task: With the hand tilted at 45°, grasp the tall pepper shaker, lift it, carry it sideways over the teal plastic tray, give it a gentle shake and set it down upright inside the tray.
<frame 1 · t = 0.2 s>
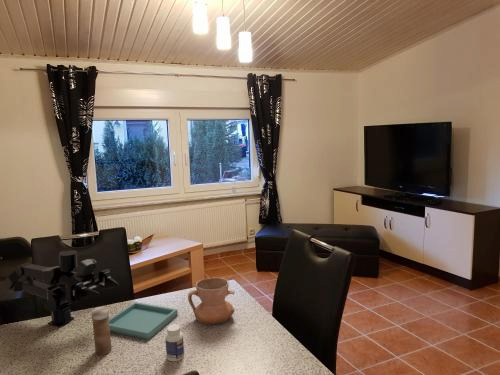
hand: (108, 289, 124), 16 cm above the table, tool horizontal, fingers open, 9 cm apart
shaker: (103, 351, 116), on the table
pill bottle: (175, 357, 111), on the table
tray: (141, 322, 133), on the table
ceramic jug: (212, 319, 134), on the table
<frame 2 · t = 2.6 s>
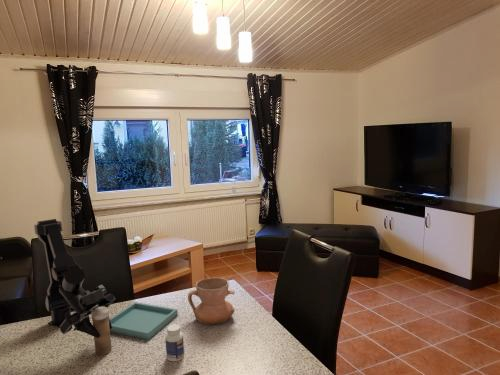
hand: (105, 332, 114), 7 cm above the table, tool tilted 45°, fingers closed on shaker, 5 cm apart
shaker: (103, 351, 116), on the table, touching gripper
everything else where it was.
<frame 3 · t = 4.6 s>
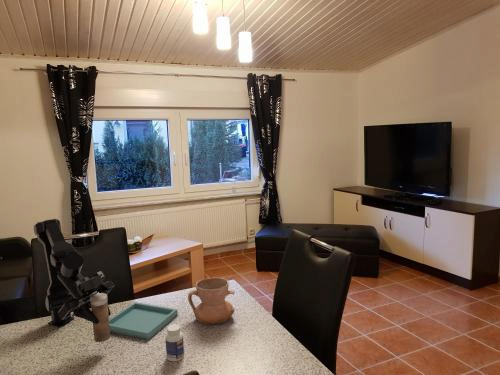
hand: (104, 319, 114), 11 cm above the table, tool tilted 45°, fingers closed on shaker, 5 cm apart
shaker: (102, 337, 115), point 5 cm above the table, touching gripper
everything else where it was.
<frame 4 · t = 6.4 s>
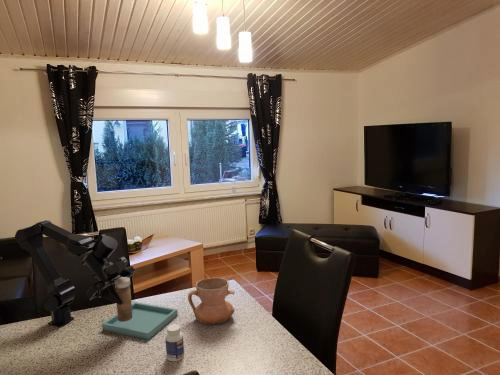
hand: (126, 300, 123), 12 cm above the table, tool tilted 45°, fingers closed on shaker, 5 cm apart
shaker: (125, 318, 125), point 6 cm above the table, touching gripper
everything else where it was.
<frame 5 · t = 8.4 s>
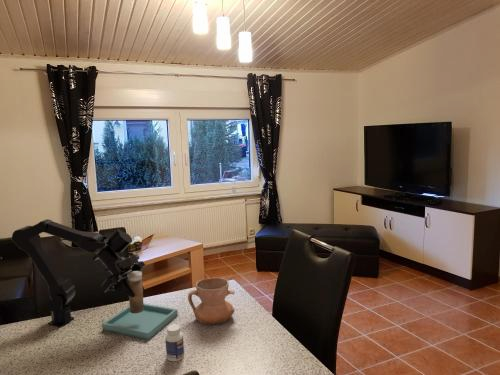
hand: (138, 293, 129), 12 cm above the table, tool tilted 45°, fingers closed on shaker, 5 cm apart
shaker: (136, 310, 131), point 6 cm above the table, touching gripper
everything else where it was.
when the fingers open (9 cm above the table, at t = 10.1 s): shaker drops 1 cm, resting on tray.
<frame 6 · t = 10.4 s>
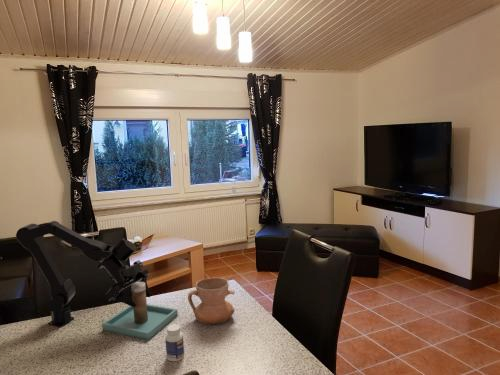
hand: (142, 301, 131), 9 cm above the table, tool tilted 45°, fingers open, 8 cm apart
shaker: (141, 320, 133), point 1 cm above the table, touching tray
everything else where it was.
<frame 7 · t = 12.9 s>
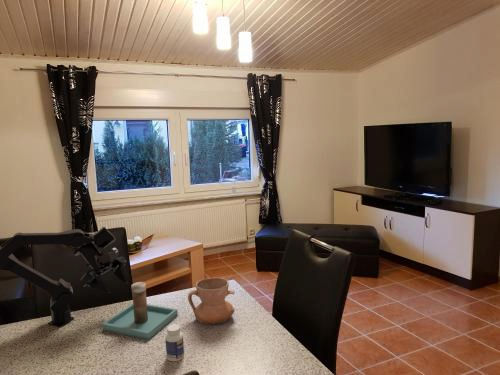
hand: (118, 287, 135), 13 cm above the table, tool tilted 45°, fingers open, 9 cm apart
nothing on the table moved.
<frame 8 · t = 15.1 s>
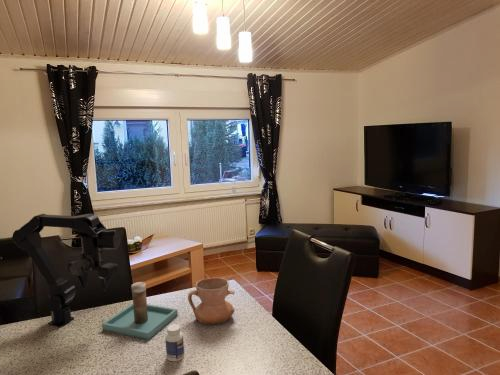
hand: (94, 289, 133), 13 cm above the table, tool pointing down, fingers open, 9 cm apart
nothing on the table moved.
at the end: shaker inside the target area on the tray (0.0 cm from its centre), point 0.8 cm above the tray's base; shaker tilted 0°; the gripper is holding nothing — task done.
